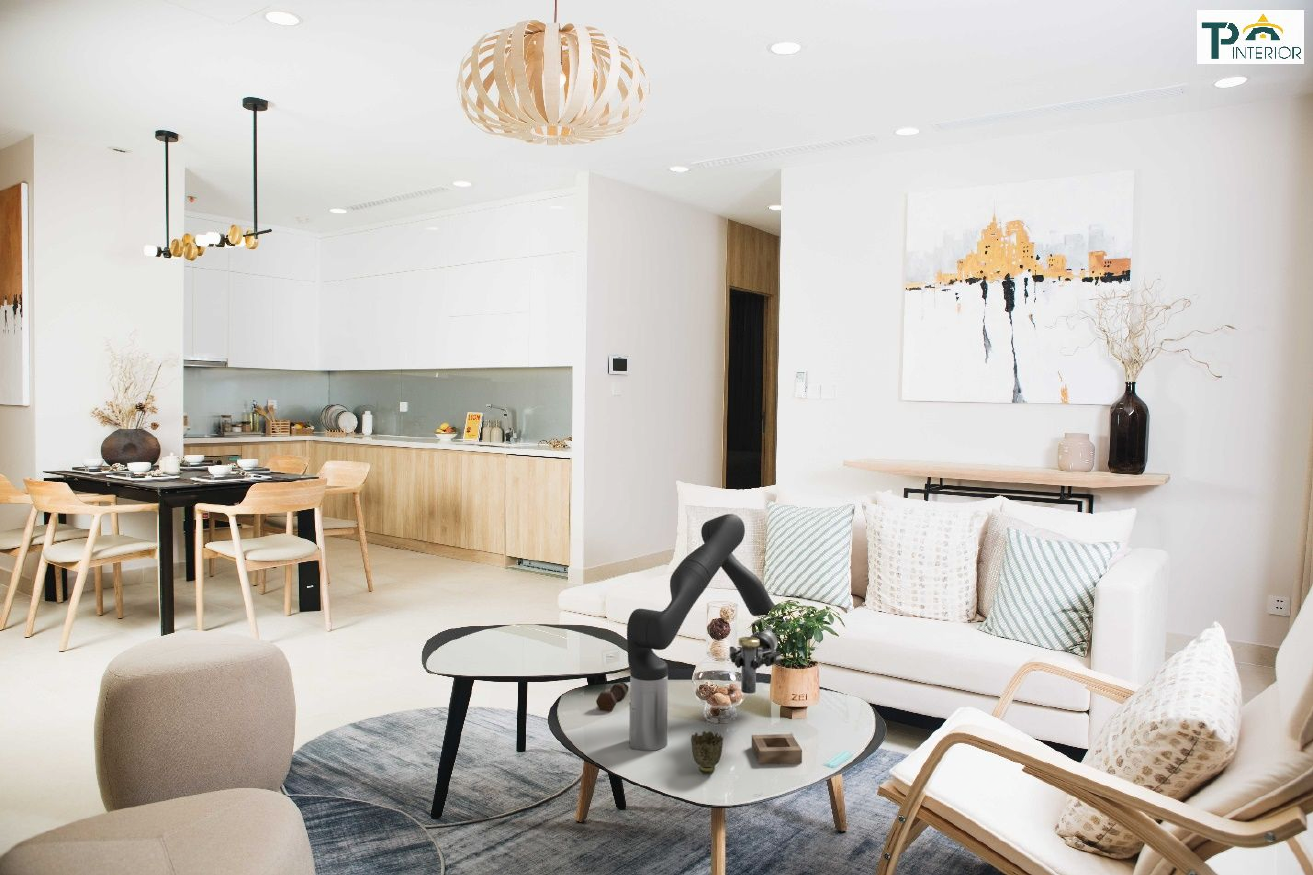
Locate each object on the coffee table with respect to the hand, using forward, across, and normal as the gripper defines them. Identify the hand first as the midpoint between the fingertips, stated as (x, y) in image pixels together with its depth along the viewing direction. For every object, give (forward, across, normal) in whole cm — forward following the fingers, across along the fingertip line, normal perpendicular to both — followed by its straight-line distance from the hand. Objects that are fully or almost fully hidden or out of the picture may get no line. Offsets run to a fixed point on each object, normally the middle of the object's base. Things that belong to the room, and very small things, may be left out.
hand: (746, 664), depth 218 cm
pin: (-3, 0, +8) cm, 8 cm away
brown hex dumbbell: (-17, -41, +20) cm, 49 cm away
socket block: (+4, +8, +20) cm, 22 cm away
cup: (+19, -5, +20) cm, 28 cm away
